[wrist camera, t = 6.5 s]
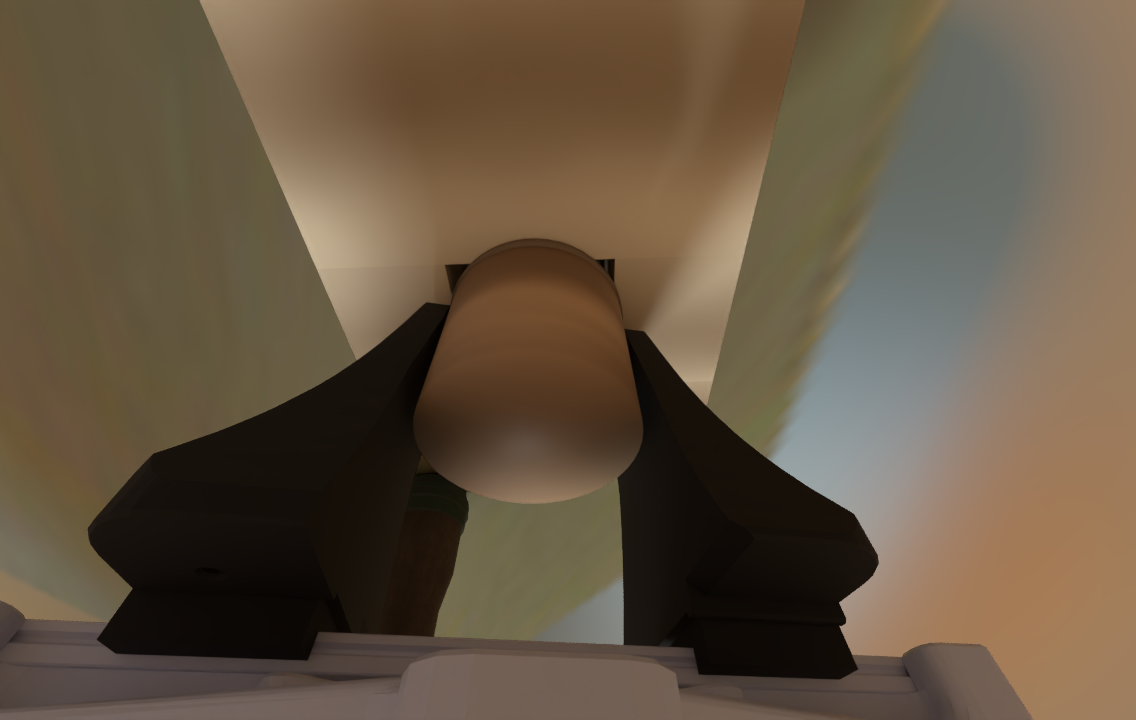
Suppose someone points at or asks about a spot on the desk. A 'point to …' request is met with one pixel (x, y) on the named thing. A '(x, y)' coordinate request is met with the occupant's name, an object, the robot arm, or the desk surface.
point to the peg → (531, 378)
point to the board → (519, 144)
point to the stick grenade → (424, 556)
